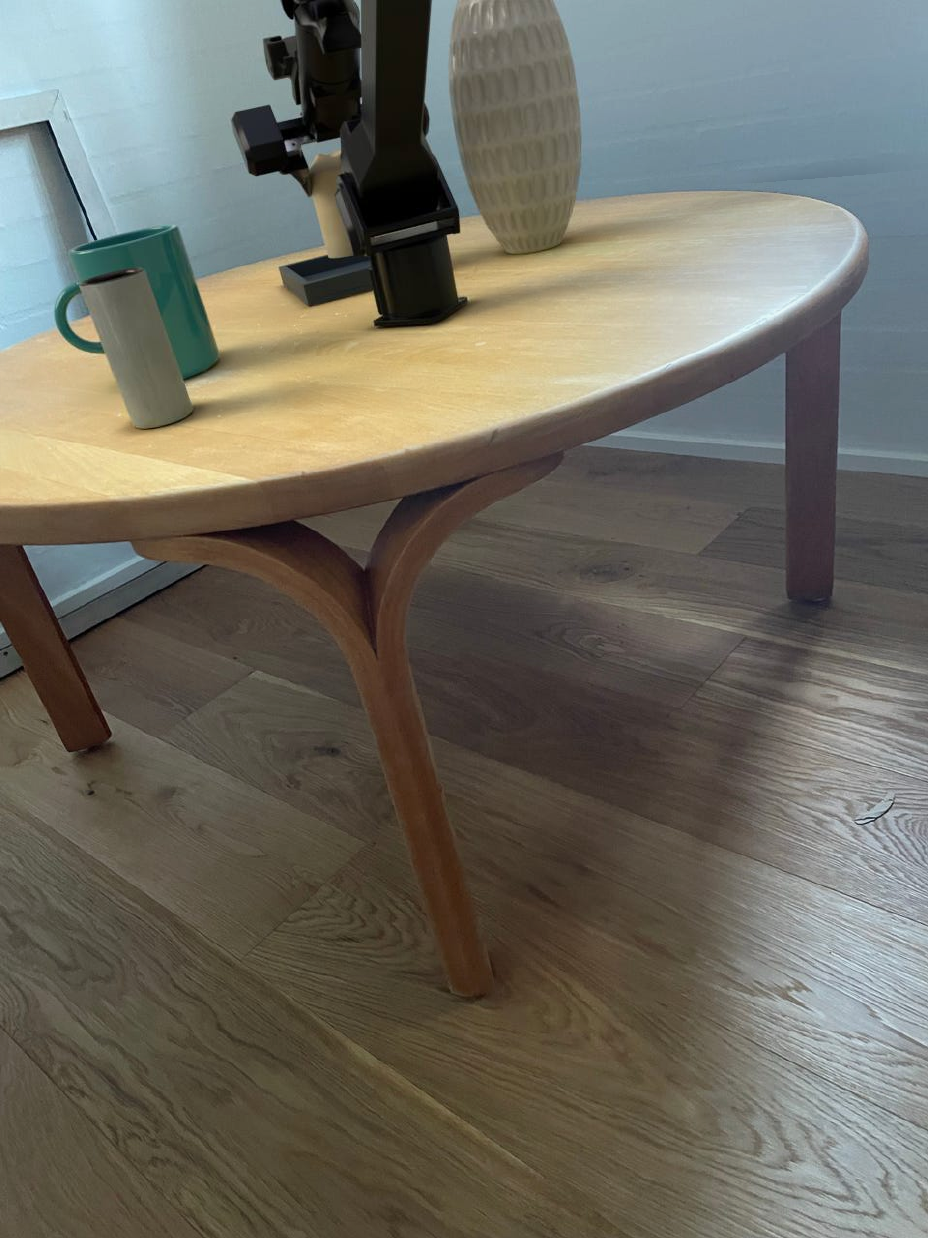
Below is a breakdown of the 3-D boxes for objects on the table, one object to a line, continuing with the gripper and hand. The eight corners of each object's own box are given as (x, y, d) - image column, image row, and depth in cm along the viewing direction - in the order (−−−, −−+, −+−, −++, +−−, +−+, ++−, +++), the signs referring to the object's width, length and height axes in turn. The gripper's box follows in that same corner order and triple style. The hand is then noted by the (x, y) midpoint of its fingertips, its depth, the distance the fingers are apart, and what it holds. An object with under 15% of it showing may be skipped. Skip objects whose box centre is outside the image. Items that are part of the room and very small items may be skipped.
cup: (88, 382, 83) (35, 253, 77) (217, 348, 85) (176, 220, 79) (82, 408, 75) (23, 266, 69) (225, 370, 77) (179, 229, 71)
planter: (140, 414, 70) (88, 276, 65) (198, 402, 70) (150, 263, 65) (126, 433, 66) (70, 288, 61) (187, 421, 66) (135, 274, 61)
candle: (349, 258, 97) (324, 154, 92) (318, 259, 100) (292, 159, 95) (387, 245, 100) (365, 143, 95) (355, 246, 103) (333, 149, 98)
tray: (441, 271, 97) (437, 250, 96) (308, 306, 94) (303, 284, 93) (400, 255, 110) (397, 236, 109) (283, 286, 107) (278, 266, 106)
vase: (598, 246, 93) (564, -99, 78) (475, 269, 94) (419, -65, 80) (586, 226, 104) (554, -80, 89) (476, 247, 105) (426, -51, 91)
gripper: (395, -24, 87) (391, 111, 102) (202, 13, 83) (227, 147, 98) (436, 64, 84) (426, 189, 99) (239, 107, 81) (259, 230, 95)
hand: (334, 187), depth 98 cm, fingers closed on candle, 5 cm apart
